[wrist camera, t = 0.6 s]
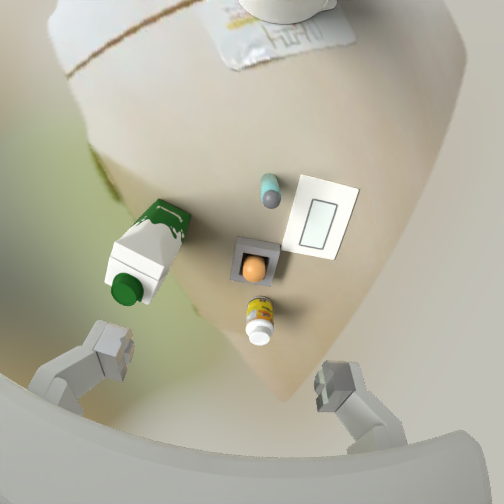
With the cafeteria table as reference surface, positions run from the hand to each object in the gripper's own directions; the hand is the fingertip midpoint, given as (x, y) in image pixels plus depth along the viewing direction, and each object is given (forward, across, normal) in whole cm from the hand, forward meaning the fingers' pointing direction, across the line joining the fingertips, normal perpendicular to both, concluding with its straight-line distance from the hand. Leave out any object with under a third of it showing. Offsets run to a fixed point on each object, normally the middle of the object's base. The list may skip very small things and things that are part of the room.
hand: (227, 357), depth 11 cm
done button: (+37, -4, +18) cm, 42 cm away
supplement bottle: (+40, -8, +30) cm, 50 cm away
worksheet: (+39, -14, +8) cm, 42 cm away
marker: (+39, -4, +3) cm, 39 cm away
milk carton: (+40, +13, +14) cm, 44 cm away
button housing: (+39, -4, +18) cm, 44 cm away
